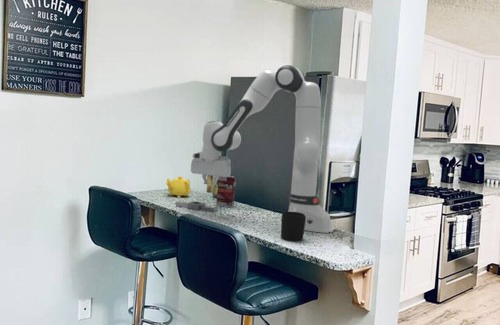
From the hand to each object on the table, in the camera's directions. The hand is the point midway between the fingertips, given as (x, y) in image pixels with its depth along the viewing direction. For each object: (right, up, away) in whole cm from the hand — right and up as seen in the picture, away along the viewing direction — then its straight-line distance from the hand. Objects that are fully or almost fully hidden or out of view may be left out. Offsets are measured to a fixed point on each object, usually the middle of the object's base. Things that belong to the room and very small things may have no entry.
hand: (210, 184), depth 234 cm
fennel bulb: (0, -10, +51) cm, 52 cm away
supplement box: (+6, -13, +24) cm, 28 cm away
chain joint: (-8, -12, +9) cm, 17 cm away
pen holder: (+35, -20, -39) cm, 57 cm away
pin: (0, -4, 0) cm, 4 cm away
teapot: (-23, -9, +45) cm, 51 cm away
